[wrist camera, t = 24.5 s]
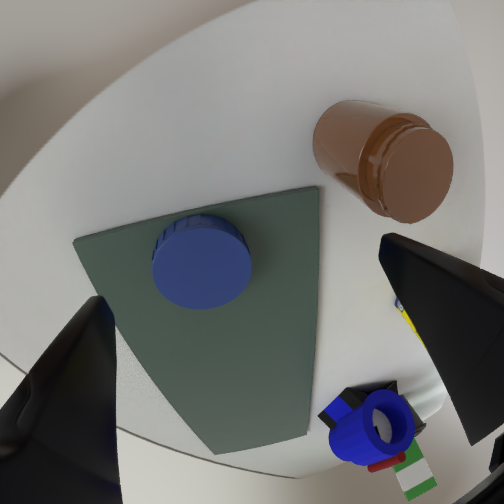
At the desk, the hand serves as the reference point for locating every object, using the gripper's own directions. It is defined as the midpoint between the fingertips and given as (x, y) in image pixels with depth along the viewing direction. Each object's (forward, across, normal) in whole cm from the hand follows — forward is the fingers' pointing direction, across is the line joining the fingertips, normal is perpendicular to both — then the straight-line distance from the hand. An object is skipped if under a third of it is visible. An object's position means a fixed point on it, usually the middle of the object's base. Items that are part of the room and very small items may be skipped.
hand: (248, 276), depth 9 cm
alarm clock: (+11, -16, +43) cm, 47 cm away
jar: (+12, -10, 0) cm, 15 cm away
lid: (+9, +2, +6) cm, 12 cm away
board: (+11, +2, +27) cm, 29 cm away
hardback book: (+10, -32, +73) cm, 80 cm away
